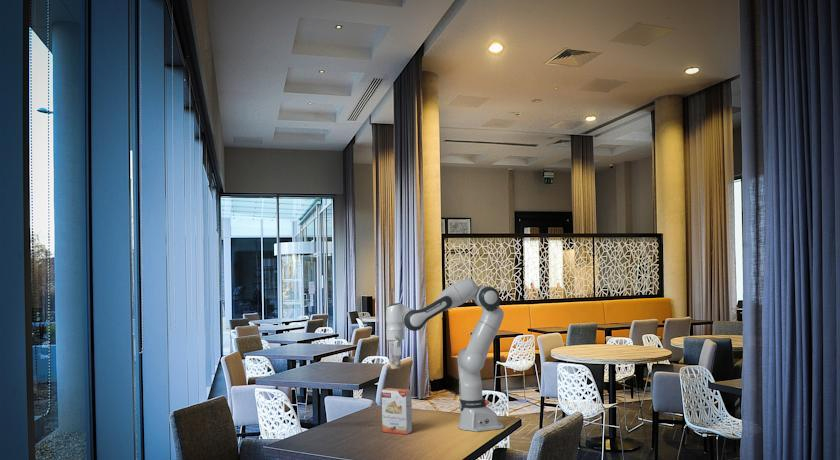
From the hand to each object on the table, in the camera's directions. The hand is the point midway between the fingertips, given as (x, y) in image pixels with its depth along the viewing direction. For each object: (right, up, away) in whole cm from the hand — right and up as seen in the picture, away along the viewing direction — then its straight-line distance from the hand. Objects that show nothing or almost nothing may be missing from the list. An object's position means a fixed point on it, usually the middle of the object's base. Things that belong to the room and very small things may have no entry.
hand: (395, 364), depth 311 cm
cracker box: (+1, -33, -3) cm, 33 cm away
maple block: (0, -2, 0) cm, 2 cm away
